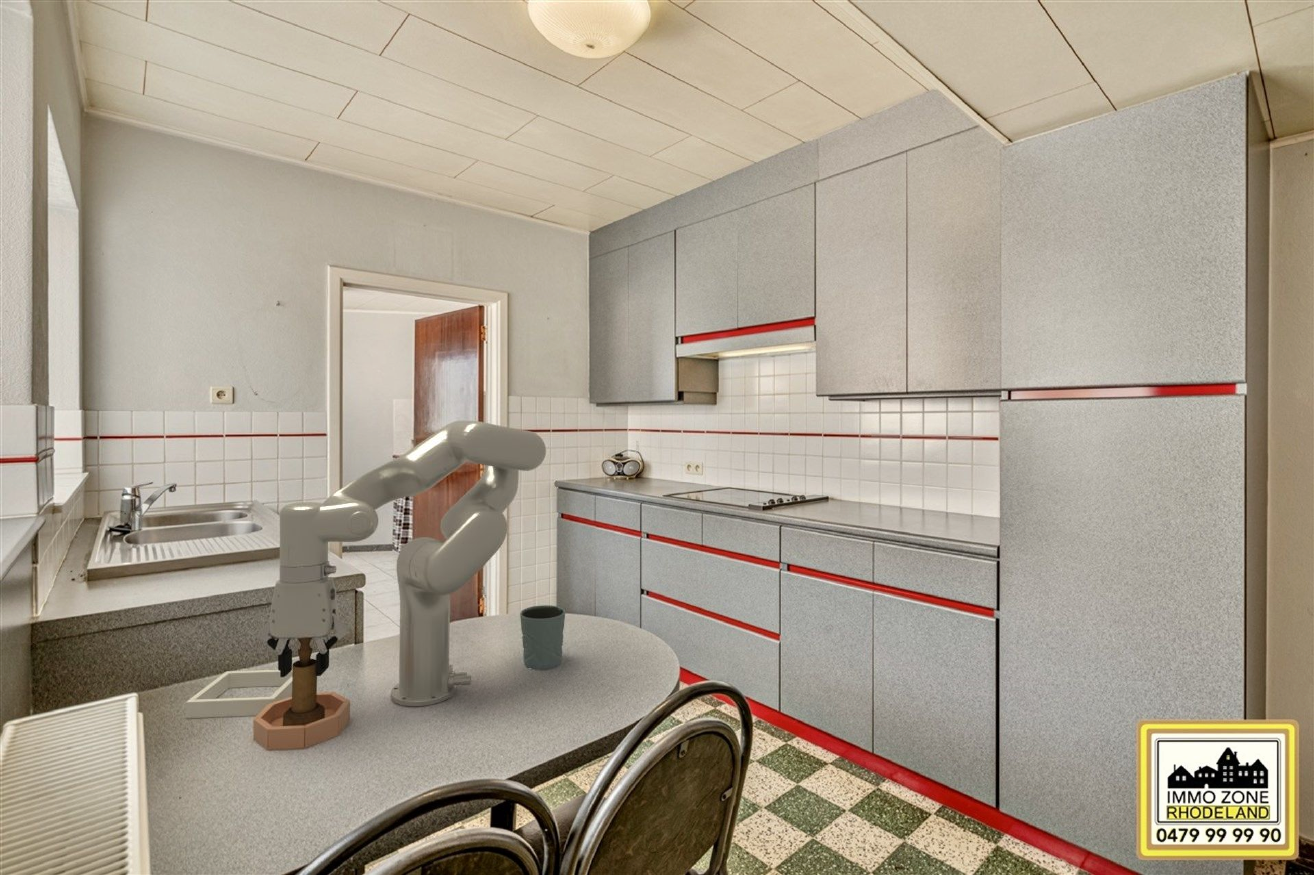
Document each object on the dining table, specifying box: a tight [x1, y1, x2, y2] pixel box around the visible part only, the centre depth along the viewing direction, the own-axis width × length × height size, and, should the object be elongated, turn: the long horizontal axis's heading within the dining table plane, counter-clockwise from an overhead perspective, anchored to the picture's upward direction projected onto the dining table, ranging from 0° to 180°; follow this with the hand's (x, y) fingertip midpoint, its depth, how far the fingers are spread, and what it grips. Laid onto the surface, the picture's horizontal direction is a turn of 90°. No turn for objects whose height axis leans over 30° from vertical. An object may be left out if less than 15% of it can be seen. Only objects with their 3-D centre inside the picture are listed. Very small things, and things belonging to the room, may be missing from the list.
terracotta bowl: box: [252, 691, 351, 751], centre depth 114 cm, size 14×14×4 cm
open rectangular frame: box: [185, 668, 293, 719], centre depth 124 cm, size 15×14×3 cm
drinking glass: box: [519, 604, 566, 671], centre depth 146 cm, size 10×10×12 cm
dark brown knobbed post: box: [283, 638, 325, 726], centre depth 113 cm, size 7×6×18 cm
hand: (303, 672), depth 113 cm, fingers open, 5 cm apart
